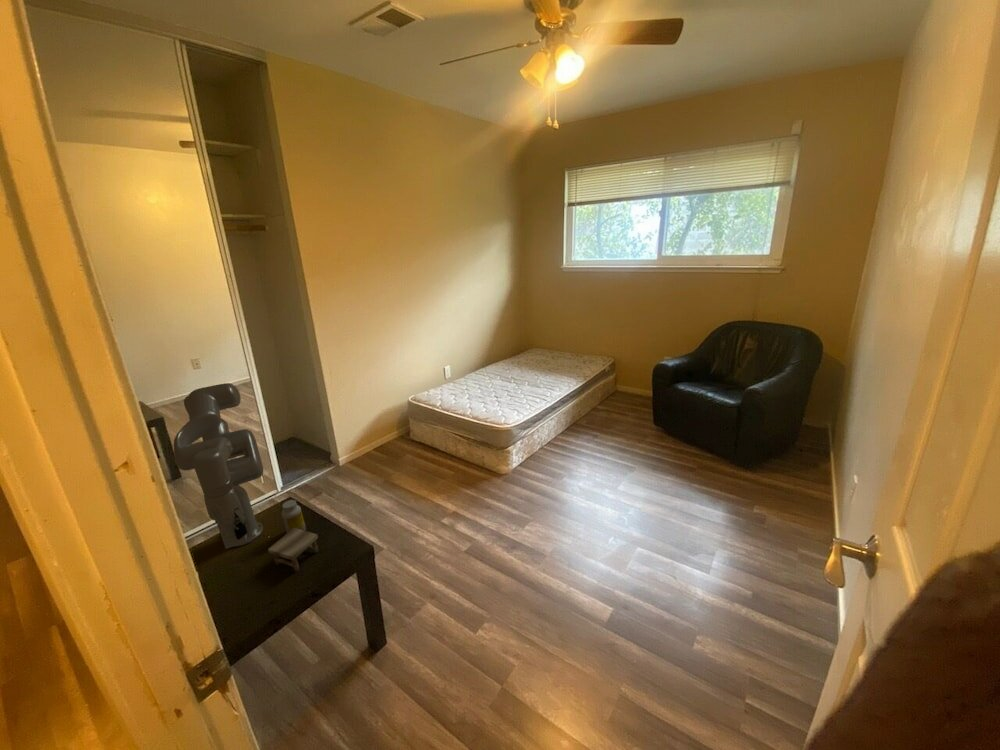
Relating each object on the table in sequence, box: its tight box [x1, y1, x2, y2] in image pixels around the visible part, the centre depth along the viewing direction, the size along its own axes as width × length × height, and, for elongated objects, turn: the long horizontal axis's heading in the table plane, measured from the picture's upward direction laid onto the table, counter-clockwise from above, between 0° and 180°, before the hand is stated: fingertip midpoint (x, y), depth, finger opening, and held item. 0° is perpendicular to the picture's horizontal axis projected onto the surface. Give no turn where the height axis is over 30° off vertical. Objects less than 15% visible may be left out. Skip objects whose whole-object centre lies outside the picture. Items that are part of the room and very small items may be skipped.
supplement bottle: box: [281, 499, 307, 534], centre depth 152 cm, size 7×7×13 cm
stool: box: [267, 528, 319, 572], centre depth 140 cm, size 11×11×7 cm
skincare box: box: [216, 516, 247, 549], centre depth 128 cm, size 6×4×12 cm
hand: (234, 533), depth 129 cm, fingers closed on skincare box, 6 cm apart
